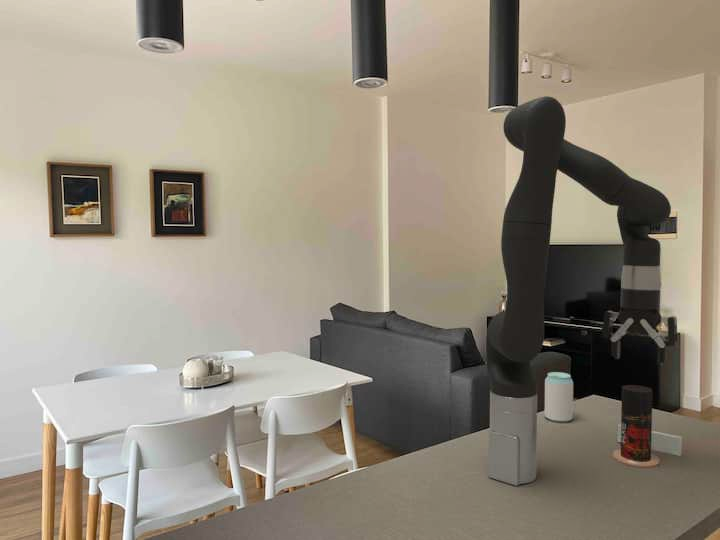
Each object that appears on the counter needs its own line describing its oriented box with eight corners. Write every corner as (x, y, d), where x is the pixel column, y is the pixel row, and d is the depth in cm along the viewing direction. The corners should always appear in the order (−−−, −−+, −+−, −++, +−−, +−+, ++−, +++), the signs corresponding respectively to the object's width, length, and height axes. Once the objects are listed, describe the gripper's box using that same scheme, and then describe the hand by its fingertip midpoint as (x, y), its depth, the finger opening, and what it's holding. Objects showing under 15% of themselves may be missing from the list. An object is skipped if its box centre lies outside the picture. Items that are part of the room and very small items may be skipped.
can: (573, 424, 142) (573, 378, 141) (544, 421, 144) (545, 376, 143) (572, 416, 148) (572, 372, 148) (544, 413, 151) (545, 370, 150)
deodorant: (614, 453, 121) (615, 386, 120) (633, 449, 123) (635, 383, 122) (637, 463, 116) (639, 393, 115) (657, 459, 118) (659, 390, 117)
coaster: (653, 471, 113) (653, 468, 113) (607, 460, 119) (607, 457, 119) (663, 458, 120) (663, 455, 120) (620, 447, 126) (620, 445, 126)
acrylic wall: (680, 455, 121) (680, 438, 121) (617, 441, 129) (618, 425, 129) (681, 454, 122) (681, 436, 121) (618, 440, 130) (619, 424, 130)
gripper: (600, 285, 119) (597, 359, 120) (674, 290, 110) (671, 370, 111) (610, 283, 125) (608, 354, 126) (682, 287, 116) (679, 363, 116)
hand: (637, 361), depth 118 cm, fingers open, 8 cm apart
